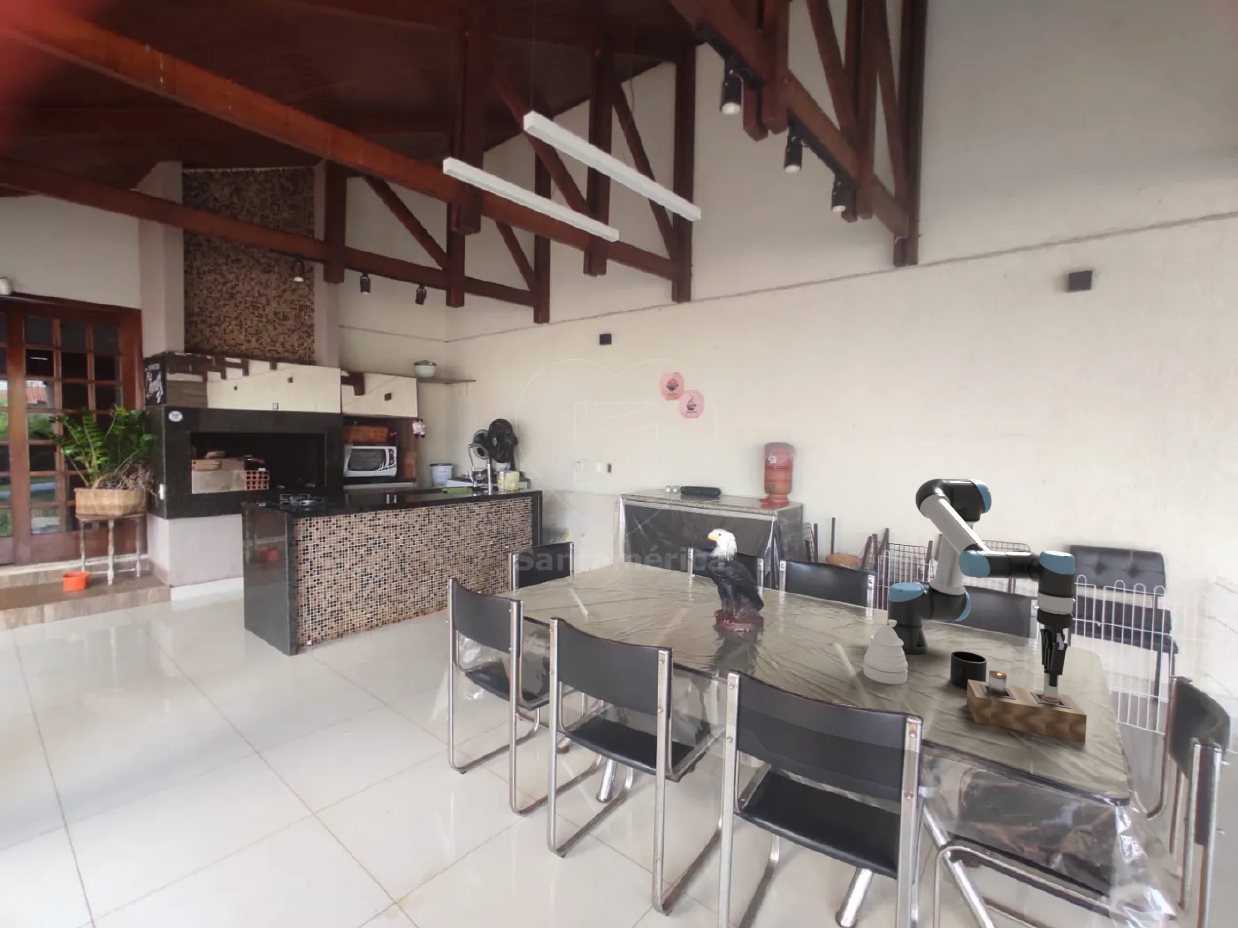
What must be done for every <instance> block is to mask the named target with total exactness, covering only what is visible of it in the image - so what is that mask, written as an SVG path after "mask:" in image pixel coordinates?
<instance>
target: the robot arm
mask: <svg viewBox="0 0 1238 928" xmlns="http://www.w3.org/2000/svg"><path fill="white" fill-rule="evenodd" d="M914 497H915V498H914V500H915V506H916V508H917V510H918V512H919V513H920V514H921V515H922V516H923V517H924V518H925V519H929V520H930V521H931V522H932V523H933V524H934V526H935V527H936V529H938V531H939V532H940V533H941V534H942V537H941V542H940V547H939V553H938V558H937V559H938V560H937V565H936V570H935V575H934V577H933V578H932V579H930V580H929V582H928V587H924V585H923V584H921V583H917V582H910V581H909V582H907V581H905V582H897V583H893V584H892V585H890V586H889V588H888V593H887V594H888V595H887V622H886V623H887V624H886V625H889V623H888V620H896V621H897V624H896V625H895V626H894V627H892V628H893V630H894V631H895V632H896V634H897V636H898V638H899V639H901V640H902V641H903V642H904V645H903V646H902V649H903V651H904V654H908V655H922V654H923V655H924V654H925V653H927V651H928V642H927V640H926V636H925V632H924V630H923V625H924V624H923V623H924V621H940V622H942V621H943V622H944V621H945V622H961V621H963V620H965V619H966V618H967V617H968V615H969V614H970V612H971V608H972V607H971V606H972V603H971V596H970V595H969V593H968V591H967V589H966V587H965V586H964V585H963V580H964V576H965V577H970V578H977V579H1014V580H1015V579H1018V580H1019V579H1020V580H1025V579H1026V580H1031V581H1033V582H1036V583H1037V584H1038V585H1037V587H1038V588H1037V600H1036V606H1037V607H1038V608H1037V609H1036V622H1037V623H1039V624H1041V625H1043V627H1044V628H1043V627H1040V629H1039V631H1040V640H1041V644H1040V645H1041V665H1042V666H1043V673H1044V678H1043V691H1044V692H1043V694H1044V696H1045V697H1051V698H1057V699H1058V694H1059V677H1060V676H1063V672H1064V666H1065V659H1066V652H1067V651H1068V647H1069V646H1068V643H1066V642H1065V640H1066V634H1065V633H1064V630H1065V629H1071V628H1073V617H1074V615H1073V613H1072V612H1073V610H1074V604H1076V603H1077V602H1076V600H1075V599H1074V594H1075V584H1076V583H1075V581H1076V572H1077V570H1076V558H1075V556H1074V555H1073V554H1071V553H1069V552H1063V551H1057V550H1054V551H1053V550H1043V551H1041V552H1040V553H1039V554H1038V553H1035V552H1033V551H1030V550H1024V549H1015V550H1013V551H997V550H995V551H993V550H991V549H990V547H989V546H987V545H986V543H985V542H984V541H983V540H982V539H981V538H980V537H979V536H978V534H977V533H976V532H975V531H974V530H973V529H974V525H975V524H976V523H978V522H979V521H981V515H982V514H987V513H988V512H989V511H990V509H991V507H992V494H991V491H990V490H989V487H988V486H987V484H986V483H984V482H983V480H979V479H970V478H933V479H930V480H927V481H925V482H924V483H922V484H921V485H920V486H919V488H918V489H917V491H916V493H915V496H914Z"/></svg>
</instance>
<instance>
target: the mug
mask: <svg viewBox="0 0 1238 928" xmlns="http://www.w3.org/2000/svg"><path fill="white" fill-rule="evenodd" d="M950 654H951V655H950V675H949V678H950V679H949V681H950V683H951V684H952V685H953V686H955V687H957V688H959V689H962V690H965V691H967V684H968V680H975V681H981V682H987V663H988V662H987V661H988V660H987V658H985V657H984V656H983V655H982V656H981V655H980V654H977V653H973V652H969V651H962V650H957V651H953V652H951V653H950Z"/></svg>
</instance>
